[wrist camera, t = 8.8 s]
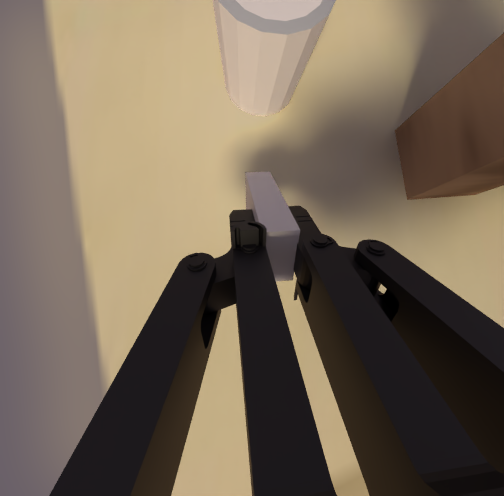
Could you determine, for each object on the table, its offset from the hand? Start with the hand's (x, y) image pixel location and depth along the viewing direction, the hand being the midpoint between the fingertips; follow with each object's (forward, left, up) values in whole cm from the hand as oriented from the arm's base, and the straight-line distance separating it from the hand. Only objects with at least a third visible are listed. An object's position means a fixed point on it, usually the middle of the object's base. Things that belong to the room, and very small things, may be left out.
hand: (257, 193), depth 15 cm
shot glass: (-2, -10, -3) cm, 11 cm away
